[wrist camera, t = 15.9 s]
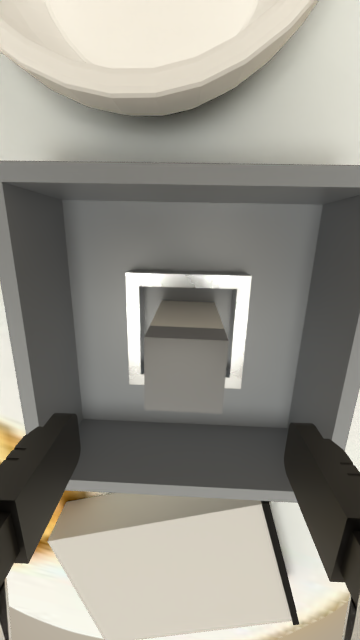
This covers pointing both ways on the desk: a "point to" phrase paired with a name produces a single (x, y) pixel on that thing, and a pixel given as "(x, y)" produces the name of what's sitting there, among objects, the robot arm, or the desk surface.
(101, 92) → the bowl
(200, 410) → the block
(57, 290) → the box
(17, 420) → the desk surface
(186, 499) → the disc drive
